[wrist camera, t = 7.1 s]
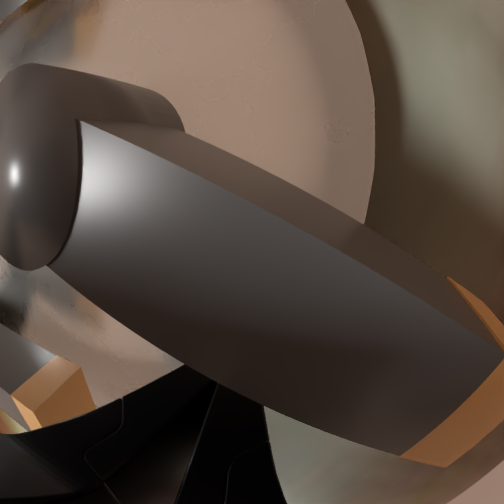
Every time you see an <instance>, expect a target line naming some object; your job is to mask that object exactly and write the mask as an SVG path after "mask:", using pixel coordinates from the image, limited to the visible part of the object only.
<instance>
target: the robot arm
mask: <svg viewBox="0 0 504 504" xmlns="http://www.w3.org/2000/svg"><path fill="white" fill-rule="evenodd" d="M0 504H287V502H286V500H285V497H284V495H283V492H282V489H281V486H280V482H279V479H278V476H277V473H276V469H275V464H274V460H273V456H272V450H271V445H270V442H269V434H268V429H267V423H266V417H265V412H264V406H263V405H261V404H259V403H257V402H255V401H253V400H251V399H249V398H247V397H245V396H243V395H241V394H239V393H237V392H235V391H233V390H231V389H229V388H227V387H225V386H223V385H221V384H219V383H218V382H216V381H214V380H212V379H210V378H208V377H206V376H205V375H203V374H201V373H199V372H198V371H196V370H194V369H192V368H191V367H189V366H187V365H185V364H184V365H182V366H180V367H178V368H176V369H175V370H173V371H171V372H169V373H167V374H165V375H163V376H161V377H160V378H158V379H156V380H154V381H152V382H150V383H148V384H146V385H144V386H142V387H140V388H138V389H136V390H134V391H132V392H130V393H128V394H126V395H124V396H123V397H122V399H121V398H118V399H116V400H114V401H112V402H110V403H108V404H106V405H103V406H101V407H99V408H97V409H94V410H92V411H90V412H87V413H85V414H82V415H79V416H76V417H74V418H71V419H68V420H65V421H62V422H59V423H55V424H52V425H49V426H45V427H42V428H39V429H35V430H32V431H28V432H24V433H18V434H1V433H0Z"/></svg>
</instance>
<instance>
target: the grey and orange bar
mask: <svg viewBox="0 0 504 504" xmlns="http://www.w3.org/2000/svg"><path fill="white" fill-rule="evenodd" d="M0 255H1V256H2V257H3V258H4V259H5V260H6V261H7V262H8V263H9V264H11V265H12V266H14V267H16V268H18V269H20V270H25V271H33V270H36V269H39V268H41V267H43V266H45V265H46V266H47V267H49V268H50V269H51V270H52V271H53V272H54V273H56V274H57V275H58V276H59V277H60V278H62V279H63V280H64V281H65V282H66V283H68V284H69V285H70V286H71V287H73V288H74V289H75V290H76V291H78V292H79V293H80V294H82V295H83V296H84V297H85V298H87V299H88V300H89V301H91V302H92V303H93V304H95V305H96V306H97V307H99V308H100V309H101V310H103V311H104V312H106V313H107V314H108V315H110V316H111V317H112V318H114V319H115V320H117V321H118V322H120V323H121V324H122V325H124V326H125V327H127V328H128V329H130V330H131V331H133V332H134V333H136V334H137V335H139V336H140V337H142V338H143V339H145V340H146V341H148V342H149V343H151V344H153V345H154V346H156V347H157V348H159V349H160V350H162V351H164V352H165V353H167V354H169V355H170V356H172V357H174V358H175V359H177V360H179V361H180V362H182V363H184V364H185V365H187V366H189V367H191V368H192V369H194V370H196V371H198V372H199V373H201V374H203V375H205V376H206V377H208V378H210V379H212V380H214V381H216V382H218V383H219V384H221V385H223V386H225V387H227V388H229V389H231V390H233V391H235V392H237V393H239V394H241V395H243V396H245V397H247V398H249V399H251V400H253V401H255V402H257V403H259V404H261V405H264V406H266V407H268V408H270V409H272V410H275V411H277V412H279V413H281V414H284V415H286V416H288V417H290V418H293V419H295V420H298V421H300V422H302V423H305V424H307V425H310V426H312V427H315V428H317V429H320V430H323V431H325V432H328V433H331V434H333V435H336V436H339V437H342V438H344V439H347V440H350V441H353V442H356V443H359V444H362V445H365V446H368V447H372V448H375V449H378V450H381V451H385V452H388V453H392V454H395V455H398V457H399V458H403V459H407V460H411V461H415V462H419V463H424V464H428V465H433V466H438V467H443V468H446V467H447V466H449V465H450V464H451V463H453V462H454V461H456V460H457V459H458V458H459V457H461V456H462V455H463V454H465V453H466V452H467V451H468V450H470V449H471V448H472V447H473V446H475V445H476V444H477V443H478V442H479V441H481V440H482V439H483V438H484V437H485V436H486V435H488V434H489V433H490V432H491V431H492V430H493V429H494V428H495V427H496V426H498V425H499V424H500V423H501V422H502V421H503V420H504V325H503V324H502V323H501V322H500V321H499V319H498V318H497V317H496V316H495V315H494V314H493V312H492V311H491V310H490V309H489V308H488V307H487V306H486V304H485V303H484V302H482V301H481V300H480V299H478V298H477V297H476V296H474V295H473V294H472V293H470V292H469V291H468V290H466V289H465V288H464V287H462V286H461V285H459V284H458V283H457V282H455V281H454V280H452V279H451V278H450V277H448V276H447V277H444V276H443V275H441V274H440V273H439V272H437V271H436V270H434V269H433V268H431V267H430V266H428V265H427V264H425V263H424V262H422V261H421V260H419V259H418V258H416V257H415V256H413V255H412V254H410V253H409V252H407V251H405V250H404V249H402V248H401V247H399V246H398V245H396V244H394V243H393V242H391V241H390V240H388V239H387V238H385V237H383V236H382V235H380V234H378V233H377V232H375V231H374V230H372V229H370V228H369V227H367V226H365V225H364V224H362V223H360V222H359V221H357V220H355V219H353V218H352V217H350V216H348V215H347V214H345V213H343V212H341V211H340V210H338V209H336V208H334V207H333V206H331V205H329V204H327V203H326V202H324V201H322V200H320V199H318V198H317V197H315V196H313V195H311V194H309V193H308V192H306V191H304V190H302V189H300V188H298V187H296V186H294V185H293V184H291V183H289V182H287V181H285V180H283V179H281V178H279V177H277V176H275V175H273V174H271V173H269V172H268V171H266V170H264V169H262V168H260V167H258V166H256V165H254V164H252V163H249V162H247V161H245V160H243V159H241V158H239V157H237V156H235V155H233V154H231V153H229V152H227V151H224V150H222V149H220V148H218V147H216V146H214V145H212V144H209V143H207V142H205V141H203V140H200V139H198V138H196V137H194V136H191V135H189V134H187V133H185V129H184V126H183V123H182V121H181V118H180V116H179V114H178V113H177V111H176V109H175V108H174V107H173V105H172V104H171V103H170V102H169V101H168V100H167V99H166V98H165V97H164V96H162V95H161V94H159V93H157V92H155V91H153V90H150V89H147V88H144V87H140V86H137V85H133V84H130V83H126V82H122V81H118V80H115V79H111V78H107V77H103V76H99V75H94V74H90V73H85V72H81V71H76V70H71V69H66V68H61V67H55V66H50V65H44V64H37V63H27V64H23V65H21V66H18V67H16V68H15V69H13V70H12V71H11V72H9V73H8V74H7V75H6V76H5V77H4V78H3V79H2V80H1V82H0Z"/></svg>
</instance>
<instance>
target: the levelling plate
mask: <svg viewBox="0 0 504 504" xmlns="http://www.w3.org/2000/svg"><path fill="white" fill-rule="evenodd" d="M27 63H37V64H44V65H50V66H55V67H61V68H66V69H71V70H76V71H81V72H85V73H90V74H94V75H99V76H103V77H107V78H111V79H115V80H118V81H122V82H126V83H130V84H133V85H137V86H140V87H144V88H147V89H150V90H153V91H155V92H157V93H159V94H161V95H162V96H164V97H165V98H166V99H167V100H168V101H169V102H170V103H171V104H172V105H173V107H174V108H175V109H176V111H177V113H178V114H179V116H180V118H181V121H182V123H183V126H184V129H185V133H187V134H189V135H191V136H194V137H196V138H198V139H200V140H203V141H205V142H207V143H209V144H212V145H214V146H216V147H218V148H220V149H222V150H224V151H227V152H229V153H231V154H233V155H235V156H237V157H239V158H241V159H243V160H245V161H247V162H249V163H252V164H254V165H256V166H258V167H260V168H262V169H264V170H266V171H268V172H269V173H271V174H273V175H275V176H277V177H279V178H281V179H283V180H285V181H287V182H289V183H291V184H293V185H294V186H296V187H298V188H300V189H302V190H304V191H306V192H308V193H309V194H311V195H313V196H315V197H317V198H318V199H320V200H322V201H324V202H326V203H327V204H329V205H331V206H333V207H334V208H336V209H338V210H340V211H341V212H343V213H345V214H347V215H348V216H350V217H352V218H353V219H355V220H357V221H359V222H360V223H362V224H364V223H365V218H366V213H367V208H368V203H369V198H370V192H371V187H372V181H373V175H374V169H375V102H374V93H373V87H372V82H371V77H370V72H369V67H368V63H367V58H366V54H365V50H364V45H363V41H362V37H361V34H360V31H359V29H358V27H357V24H356V22H355V20H354V18H353V15H352V13H351V11H350V9H349V7H348V5H347V3H346V0H28V1H26V2H25V3H24V4H22V5H21V6H20V7H18V8H17V9H16V10H14V11H13V12H12V13H10V14H9V15H8V16H7V17H5V18H4V19H3V20H2V21H0V82H1V80H2V79H3V78H4V77H5V76H6V75H7V74H8V73H9V72H11V71H12V70H13V69H15V68H16V67H18V66H21V65H23V64H27ZM0 323H1V324H3V325H4V326H6V327H7V328H9V329H11V330H12V331H14V332H15V333H17V334H19V335H20V336H22V337H24V338H26V339H27V340H29V341H31V342H33V343H34V344H36V345H38V346H40V347H42V348H43V349H45V350H47V351H49V352H51V353H53V354H55V355H58V356H60V357H62V358H64V359H66V360H68V361H70V362H72V363H74V364H77V365H79V366H81V368H82V371H83V374H84V377H85V380H86V383H87V385H88V388H89V391H90V393H91V396H92V399H93V401H94V404H95V406H96V409H97V408H99V407H101V406H103V405H106V404H108V403H110V402H112V401H114V400H116V399H118V398H121V399H122V397H123V396H124V395H126V394H128V393H130V392H132V391H134V390H136V389H138V388H140V387H142V386H144V385H146V384H148V383H150V382H152V381H154V380H156V379H158V378H160V377H161V376H163V375H165V374H167V373H169V372H171V371H173V370H175V369H176V368H178V367H180V366H182V365H184V363H182V362H180V361H179V360H177V359H175V358H174V357H172V356H170V355H169V354H167V353H165V352H164V351H162V350H160V349H159V348H157V347H156V346H154V345H153V344H151V343H149V342H148V341H146V340H145V339H143V338H142V337H140V336H139V335H137V334H136V333H134V332H133V331H131V330H130V329H128V328H127V327H125V326H124V325H122V324H121V323H120V322H118V321H117V320H115V319H114V318H112V317H111V316H110V315H108V314H107V313H106V312H104V311H103V310H101V309H100V308H99V307H97V306H96V305H95V304H93V303H92V302H91V301H89V300H88V299H87V298H85V297H84V296H83V295H82V294H80V293H79V292H78V291H76V290H75V289H74V288H73V287H71V286H70V285H69V284H68V283H66V282H65V281H64V280H63V279H62V278H60V277H59V276H58V275H57V274H56V273H54V272H53V271H52V270H51V269H50V268H49V267H47V266H46V265H45V266H43V267H41V268H39V269H36V270H33V271H25V270H20V269H18V268H16V267H14V266H12V265H11V264H9V263H8V262H7V261H6V260H5V259H4V258H3V257H2V256H1V255H0Z"/></svg>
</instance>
